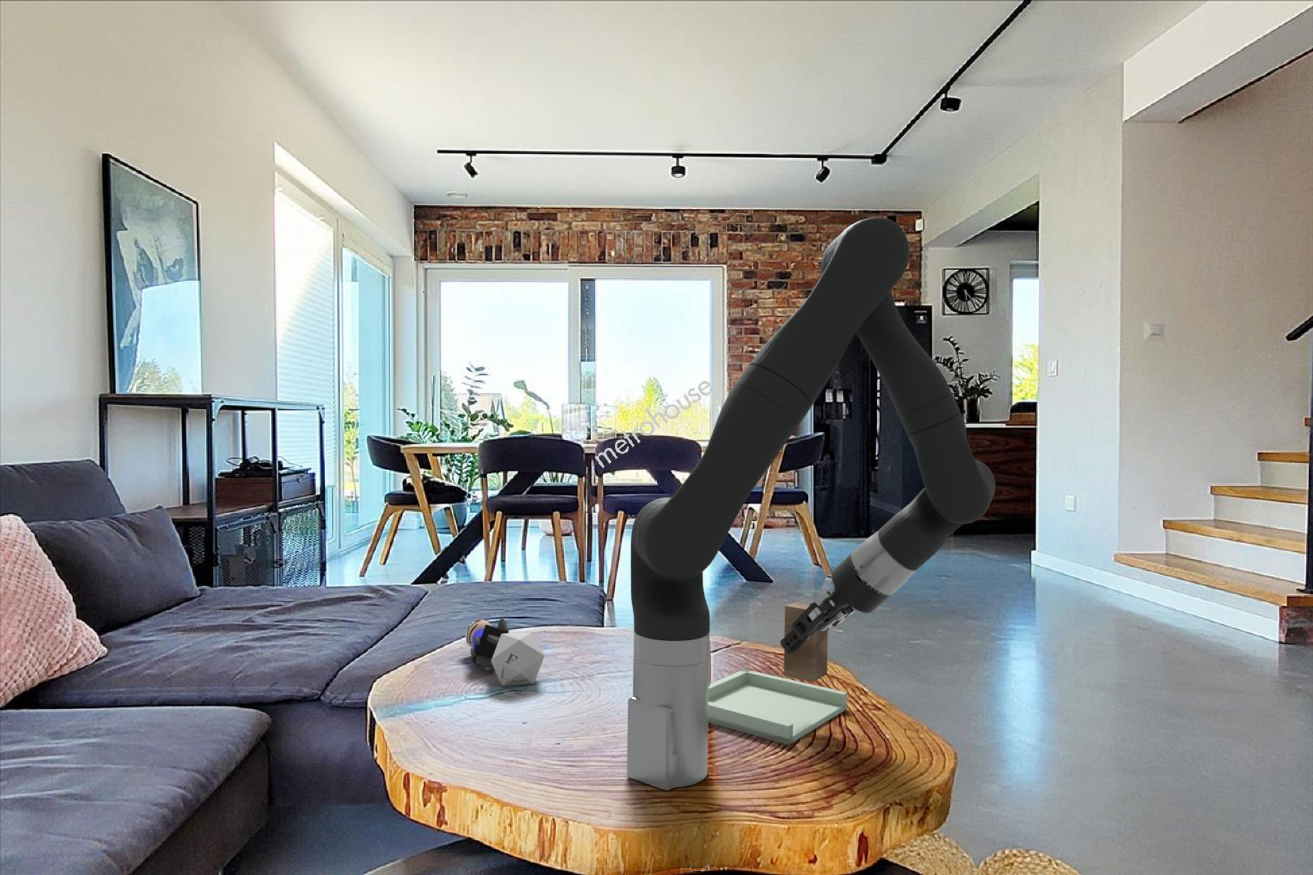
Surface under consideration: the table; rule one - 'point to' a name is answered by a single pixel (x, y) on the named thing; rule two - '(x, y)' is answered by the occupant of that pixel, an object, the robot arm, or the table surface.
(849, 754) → the table surface
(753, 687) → the tray
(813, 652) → the block
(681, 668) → the robot arm
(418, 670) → the table surface
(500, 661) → the die
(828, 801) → the table surface
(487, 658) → the character figurine
